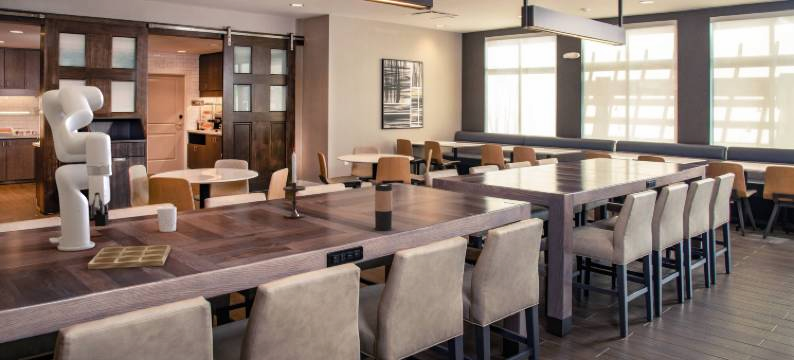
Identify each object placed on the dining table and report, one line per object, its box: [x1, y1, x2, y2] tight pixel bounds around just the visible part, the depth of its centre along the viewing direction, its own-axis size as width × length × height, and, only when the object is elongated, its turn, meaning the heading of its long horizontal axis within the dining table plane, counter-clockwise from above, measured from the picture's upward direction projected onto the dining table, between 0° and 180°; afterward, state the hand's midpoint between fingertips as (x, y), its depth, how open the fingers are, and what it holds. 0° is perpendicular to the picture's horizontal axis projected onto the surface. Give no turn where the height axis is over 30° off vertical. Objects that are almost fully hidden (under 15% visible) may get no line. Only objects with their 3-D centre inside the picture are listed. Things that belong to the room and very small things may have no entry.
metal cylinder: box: [105, 213, 110, 227], centre depth 211 cm, size 4×4×4 cm
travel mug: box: [374, 183, 393, 232], centre depth 276 cm, size 8×8×20 cm
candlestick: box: [282, 145, 307, 220], centre depth 302 cm, size 11×11×35 cm
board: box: [87, 244, 171, 270], centre depth 222 cm, size 24×24×2 cm
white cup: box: [156, 205, 178, 233], centre depth 269 cm, size 8×8×10 cm
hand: (102, 224), depth 211 cm, fingers closed on metal cylinder, 4 cm apart
